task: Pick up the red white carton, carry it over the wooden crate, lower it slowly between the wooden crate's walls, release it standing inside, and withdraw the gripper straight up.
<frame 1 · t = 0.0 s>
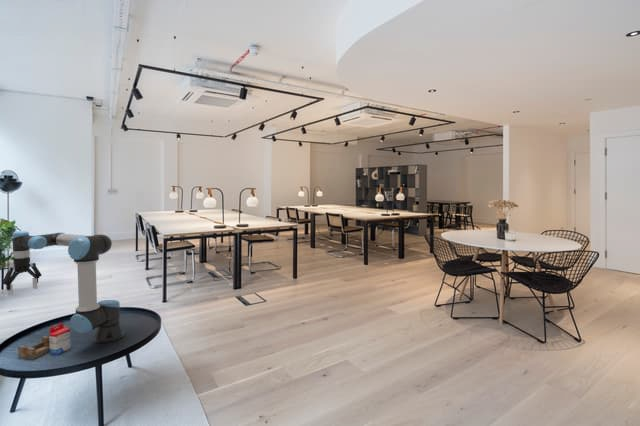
hand: (23, 291, 204), 28 cm above the table, fingers open, 13 cm apart
wooden crate: (38, 352, 187), on the table
red white carton: (60, 351, 190), on the table
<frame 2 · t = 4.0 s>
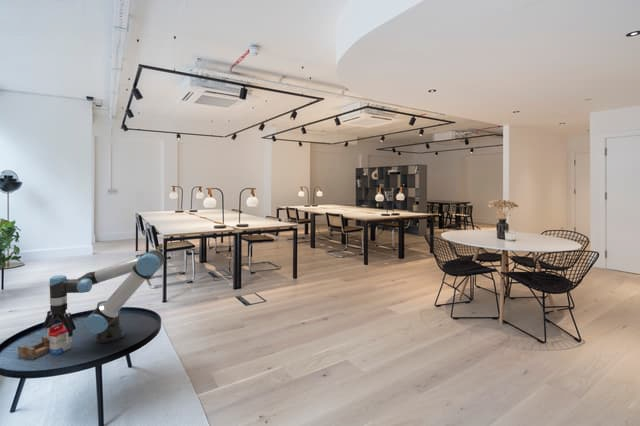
hand: (59, 340, 189), 6 cm above the table, fingers open, 13 cm apart
nothing on the table moved.
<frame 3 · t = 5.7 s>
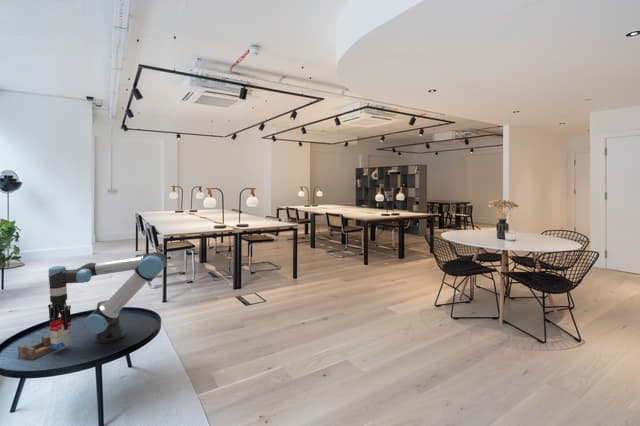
hand: (61, 334, 189), 10 cm above the table, fingers closed on red white carton, 5 cm apart
red white carton: (61, 345, 190), point 3 cm above the table, touching gripper
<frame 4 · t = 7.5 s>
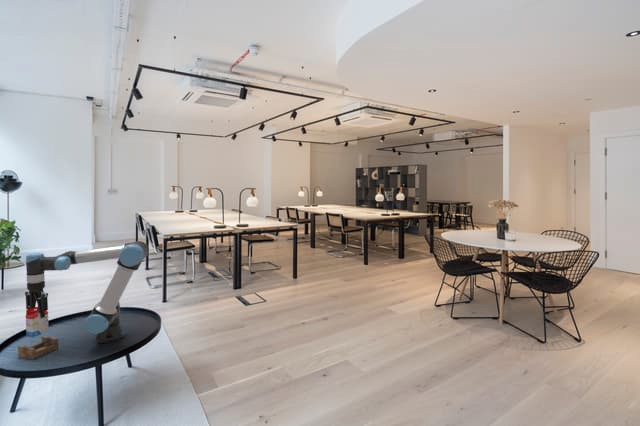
hand: (37, 322, 186), 17 cm above the table, fingers closed on red white carton, 5 cm apart
red white carton: (37, 334, 186), point 11 cm above the table, touching gripper
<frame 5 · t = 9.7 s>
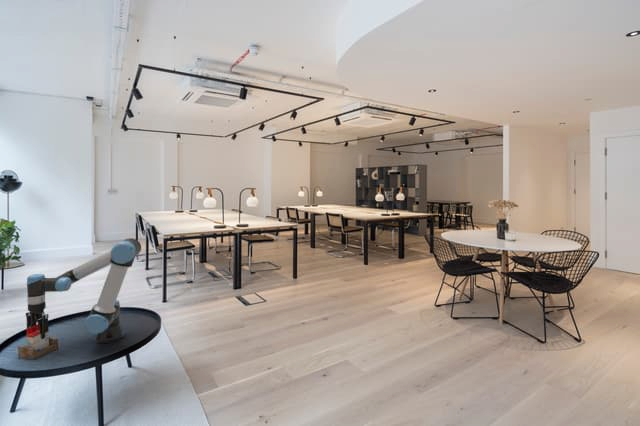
hand: (38, 343, 187), 5 cm above the table, fingers closed on red white carton, 5 cm apart
red white carton: (38, 352, 187), resting on wooden crate, touching gripper
when the fingers open (5 cm above the table, at t = 10.2 s): red white carton stays where it is, resting on wooden crate.
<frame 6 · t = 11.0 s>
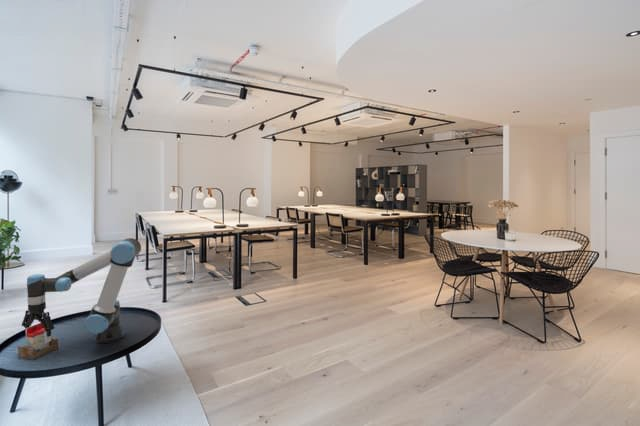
hand: (38, 340, 187), 7 cm above the table, fingers open, 13 cm apart
red white carton: (38, 352, 187), resting on wooden crate
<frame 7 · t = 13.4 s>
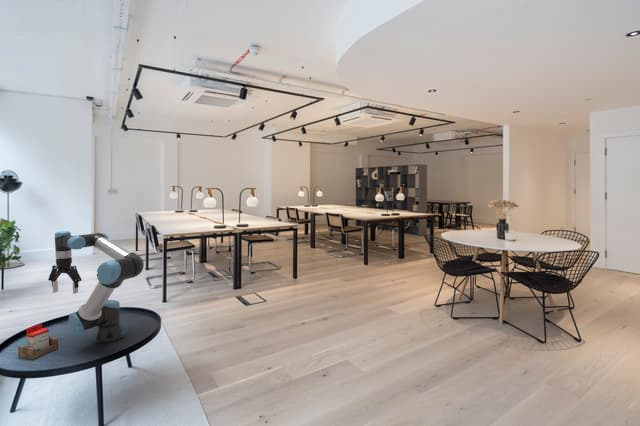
hand: (65, 292, 201), 29 cm above the table, fingers open, 13 cm apart
nothing on the table moved.
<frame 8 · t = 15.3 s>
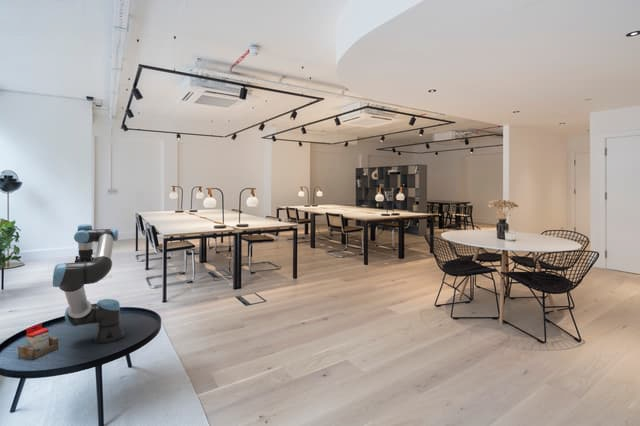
hand: (86, 281, 215), 32 cm above the table, fingers open, 13 cm apart
nothing on the table moved.
at the end: red white carton 0.2 cm off-centre on the wooden crate, point 0.3 cm above the wooden crate's base; red white carton tilted 0°; the gripper is holding nothing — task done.
